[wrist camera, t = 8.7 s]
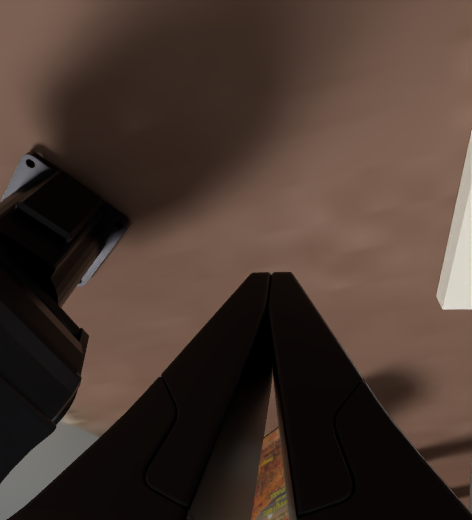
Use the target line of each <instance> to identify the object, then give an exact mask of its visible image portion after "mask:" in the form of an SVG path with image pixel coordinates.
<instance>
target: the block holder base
mask: <svg viewBox="0 0 472 520" xmlns="http://www.w3.org/2000/svg"><path fill="white" fill-rule="evenodd" d="M436 296H437V299H438V301H439V303H440V305H441V307H442V309H472V131H471V136H470V141H469V145H468V150H467V155H466V159H465V164H464V169H463V173H462V178H461V183H460V187H459V192H458V197H457V201H456V206H455V211H454V216H453V220H452V225H451V230H450V234H449V239H448V244H447V248H446V253H445V258H444V262H443V267H442V272H441V276H440V281H439V286H438V290H437V295H436Z"/></svg>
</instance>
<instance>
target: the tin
mask: <svg viewBox="0 0 472 520" xmlns="http://www.w3.org/2000/svg"><path fill="white" fill-rule="evenodd" d="M251 520H289V514H288V505H287V496H286V487H285V478H284V469H283V460H282V452H281V443H280V434H279V427H278V428H277V429H275V430H274V431H273V432H271V433H270V434H269V435H268V436H266V437H265V438H263V444H262V451H261V457H260V464H259V471H258V477H257V484H256V490H255V497H254V503H253V510H252V517H251Z"/></svg>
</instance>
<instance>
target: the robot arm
mask: <svg viewBox="0 0 472 520" xmlns="http://www.w3.org/2000/svg"><path fill="white" fill-rule="evenodd" d="M30 159H31V160H32V161H33V162H34V163H35V165H33V164H32V163H31V162H30ZM117 221H120V222H122V223H123V225H120V224H118V222H117ZM129 224H130V221H129V219H128V218H127V217H126V216H125V215H124V214H122V213H121V212H120V211H118V210H117V209H115V208H114V207H112V206H111V205H110V204H108V203H107V202H105V201H104V200H102V199H101V197H99V196H98V195H96V194H95V193H94V192H92V191H91V190H89V189H88V188H86V187H85V186H84V185H82V184H81V183H79V182H78V181H77V180H75V179H74V178H72V177H71V176H69V175H68V174H67V173H65V172H64V171H61V170H60V169H58V168H57V167H55V166H54V165H52V164H51V163H50V162H48V161H47V160H45V159H44V158H42V157H41V156H40V155H38V154H36V153H34V152H29V153H27V154H25V155H24V156H23V157H22V158H21V160H20V162H19V164H18V166H17V168H16V170H15V173H14V175H13V177H12V179H11V181H10V183H9V185H8V187H7V189H6V191H5V193H4V195H3V197H2V199H1V202H0V483H1V482H2V481H3V480H4V478H5V477H6V476H7V475H8V474H9V472H10V471H11V470H12V469H13V468H14V467H15V466H16V465H17V464H18V463H19V462H20V461H21V460H22V459H23V458H24V457H25V456H26V455H27V454H28V453H29V452H30V451H31V450H32V449H33V448H34V447H35V446H37V445H38V444H39V443H40V442H42V441H43V440H44V439H45V438H46V437H48V436H49V435H50V434H51V433H52V432H54V430H55V429H56V424H57V423H58V422H59V421H60V420H61V419H62V418H63V417H64V415H65V414H66V412H67V411H68V410H69V408H70V406H71V405H72V403H73V401H74V399H75V396H76V393H77V390H78V387H79V386H80V382H81V371H82V367H83V362H84V357H85V353H86V348H87V343H88V338H89V335H88V334H87V333H86V332H85V331H84V330H83V329H82V328H79V327H78V326H77V325H76V324H75V323H74V322H73V321H72V320H71V318H70V317H69V316H68V315H67V314H66V313H65V312H64V311H63V310H62V309H61V307H62V306H63V304H64V303H65V301H66V300H67V299H68V297H69V296H70V294H71V293H72V292H73V290H74V289H75V287H76V286H80V287H81V286H84V285H85V284H86V283H87V281H88V280H89V279H90V277H91V276H92V275H93V273H94V272H95V271H96V269H97V268H98V267H99V265H100V264H101V263H102V261H103V260H104V259H105V257H106V256H107V255H108V253H109V252H110V251H111V249H112V248H113V247H114V246H115V244H116V243H117V242H118V240H119V239H120V238H121V236H122V235H123V234H124V232H125V231H126V230H127V228H128V227H129ZM272 375H273V378H274V389H275V398H276V407H277V416H278V425H279V434H280V443H281V452H282V460H283V469H284V478H285V487H286V496H287V505H288V514H289V520H472V513H471V512H470V511H469V510H468V509H467V507H466V506H465V505H464V504H463V503H462V502H461V500H460V499H459V498H458V497H457V496H456V495H455V493H454V492H453V491H452V490H451V489H450V488H449V487H448V485H447V484H446V483H445V482H444V481H443V480H442V478H441V477H440V476H439V475H438V474H437V473H436V472H435V470H434V469H433V468H432V467H431V466H430V465H429V463H428V462H427V461H426V460H425V459H424V458H423V456H422V455H421V454H420V453H419V452H418V451H417V449H416V448H415V447H414V446H413V445H412V443H411V442H410V441H409V440H408V438H407V437H406V436H405V435H404V434H403V432H402V431H401V430H400V429H399V427H398V426H397V425H396V424H395V422H394V421H393V420H392V418H391V417H390V416H389V414H388V413H387V411H386V410H385V409H384V407H383V406H382V405H381V403H380V402H379V400H378V399H377V398H376V396H375V395H374V393H373V392H372V390H371V389H370V387H369V386H368V384H367V383H366V382H364V379H363V377H362V376H361V374H360V373H359V371H358V370H357V368H356V367H355V365H354V364H353V362H352V361H351V359H350V358H349V356H348V355H347V353H346V352H345V350H344V349H343V347H342V346H341V345H340V343H339V342H338V340H337V339H336V337H335V336H334V334H333V333H332V331H331V330H330V328H329V327H328V325H327V324H326V322H325V321H324V319H323V318H322V316H321V315H320V313H319V312H318V310H317V309H316V307H315V306H314V304H313V303H312V302H311V300H310V299H309V297H308V296H307V294H306V293H305V291H304V290H303V288H302V287H301V285H300V284H299V282H298V281H297V279H296V278H295V276H294V275H293V274H292V273H291V272H274V273H273V274H272V276H271V274H270V273H269V272H260V273H251V274H250V275H249V276H248V277H247V279H246V280H245V281H244V282H243V283H242V284H241V285H240V286H239V288H238V289H237V290H236V291H235V292H234V293H233V294H232V295H231V297H230V298H229V299H228V300H227V301H226V302H225V303H224V304H223V306H222V307H221V308H220V309H219V310H218V311H217V312H216V313H215V315H214V316H213V317H212V318H211V319H210V320H209V321H208V322H207V324H206V325H205V326H204V327H203V328H202V329H201V330H200V331H199V332H198V334H197V335H196V336H195V337H194V338H193V339H192V340H191V341H190V343H189V344H188V345H187V346H186V347H185V348H184V349H183V350H182V352H181V353H180V354H179V355H178V356H177V357H176V358H175V359H174V361H173V362H172V363H171V364H170V365H169V366H168V367H167V368H166V370H165V371H164V372H163V373H162V375H161V376H162V377H158V378H157V379H156V381H155V382H154V383H153V384H152V385H151V386H150V387H149V388H148V390H147V391H146V392H145V393H144V394H143V395H142V396H141V397H140V398H139V399H138V400H137V401H136V402H135V403H134V405H133V406H132V407H131V408H130V409H129V410H128V411H127V412H126V413H125V414H124V415H123V416H122V417H121V418H120V419H119V420H118V421H117V422H116V423H115V424H114V425H113V426H111V427H110V428H109V429H108V430H107V431H106V432H105V433H104V434H103V435H102V436H101V437H100V438H99V439H98V440H97V441H96V442H95V443H94V444H92V445H91V446H90V447H89V448H88V449H87V450H86V451H85V452H84V453H83V454H82V455H80V456H79V457H78V458H77V459H76V460H75V461H74V462H73V463H72V464H71V465H70V466H69V467H67V468H66V469H65V470H64V471H63V472H62V473H61V474H60V475H59V476H58V477H57V478H56V479H55V480H53V482H51V483H50V484H49V485H48V486H47V487H46V488H45V489H44V490H42V492H40V493H39V494H38V495H37V496H36V497H35V498H34V499H32V500H31V501H30V502H29V503H28V504H27V505H26V506H25V507H23V508H22V509H21V510H19V511H18V512H17V513H15V514H14V515H13V516H11V517H10V518H9V519H7V520H251V517H252V510H253V503H254V497H255V490H256V484H257V477H258V471H259V464H260V457H261V451H262V444H263V438H264V431H265V424H266V418H267V411H268V405H269V398H270V391H271V384H272Z"/></svg>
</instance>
